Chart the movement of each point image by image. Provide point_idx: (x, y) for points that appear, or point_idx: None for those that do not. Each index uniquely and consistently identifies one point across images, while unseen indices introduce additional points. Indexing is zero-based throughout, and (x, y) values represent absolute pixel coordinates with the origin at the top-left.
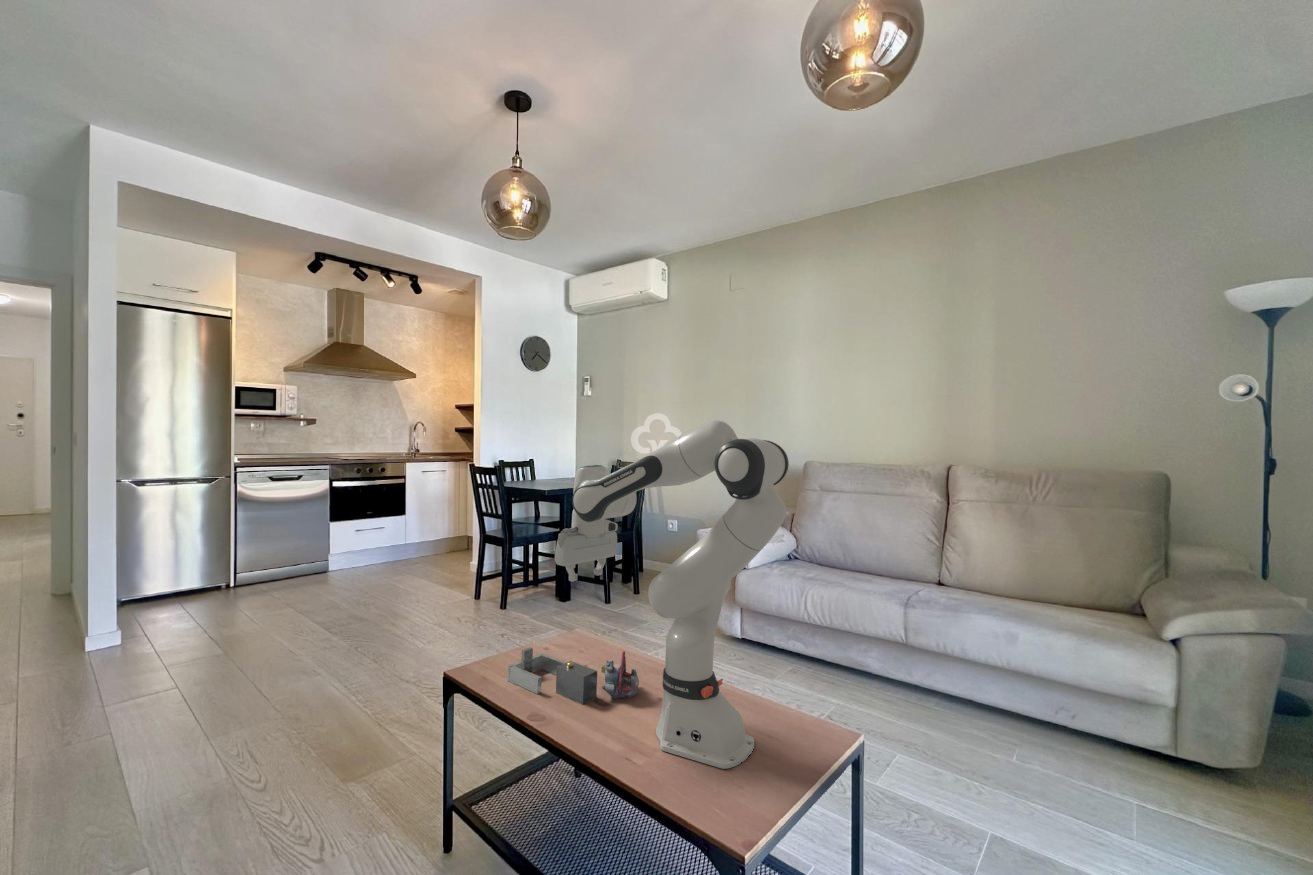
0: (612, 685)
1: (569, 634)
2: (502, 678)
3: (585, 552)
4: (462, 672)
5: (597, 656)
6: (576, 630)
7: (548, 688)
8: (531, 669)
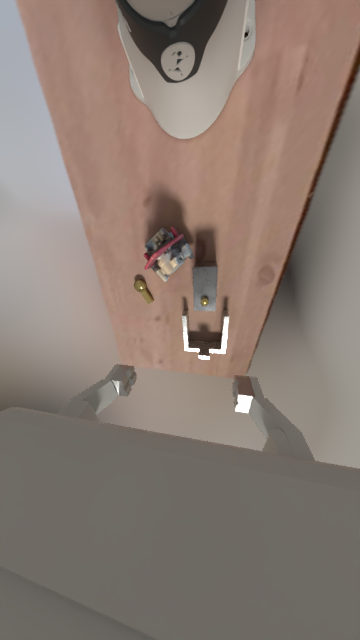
0: (185, 247)
1: None
2: None
3: (218, 552)
4: None
5: (136, 324)
6: None
7: None
8: (200, 342)
